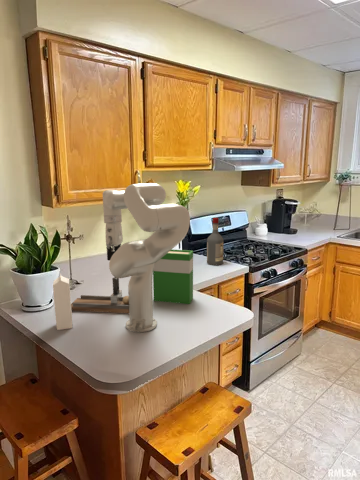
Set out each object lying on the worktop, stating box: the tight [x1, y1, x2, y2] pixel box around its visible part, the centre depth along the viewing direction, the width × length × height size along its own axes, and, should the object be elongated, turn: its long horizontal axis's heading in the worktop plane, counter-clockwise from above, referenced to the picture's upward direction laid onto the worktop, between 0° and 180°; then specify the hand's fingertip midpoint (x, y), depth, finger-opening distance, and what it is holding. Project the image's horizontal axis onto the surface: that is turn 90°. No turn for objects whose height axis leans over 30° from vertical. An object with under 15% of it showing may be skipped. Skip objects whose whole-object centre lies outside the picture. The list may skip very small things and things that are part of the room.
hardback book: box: [152, 249, 194, 305], centre depth 170 cm, size 18×7×24 cm, turn 76°
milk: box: [52, 273, 73, 331], centre depth 143 cm, size 6×6×22 cm
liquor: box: [206, 217, 225, 267], centre depth 229 cm, size 9×9×30 cm
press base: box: [71, 294, 129, 314], centre depth 162 cm, size 10×32×8 cm, turn 83°
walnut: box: [122, 295, 129, 305], centre depth 161 cm, size 4×4×4 cm
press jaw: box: [110, 276, 123, 305], centre depth 161 cm, size 7×3×12 cm, turn 173°
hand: (114, 257), depth 157 cm, fingers open, 9 cm apart
